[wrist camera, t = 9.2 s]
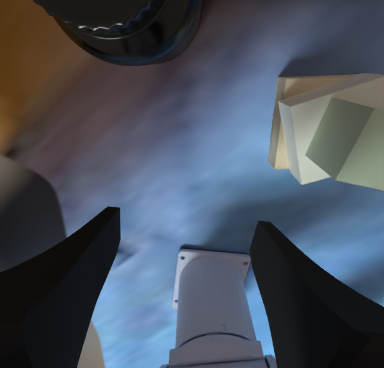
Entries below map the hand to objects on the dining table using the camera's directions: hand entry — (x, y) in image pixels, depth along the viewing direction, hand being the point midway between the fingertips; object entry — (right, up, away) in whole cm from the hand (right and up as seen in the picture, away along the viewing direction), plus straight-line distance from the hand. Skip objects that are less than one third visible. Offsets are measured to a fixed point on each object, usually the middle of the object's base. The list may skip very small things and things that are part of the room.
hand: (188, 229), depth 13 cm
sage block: (+11, +6, +4) cm, 13 cm away
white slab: (+10, +7, +6) cm, 14 cm away
